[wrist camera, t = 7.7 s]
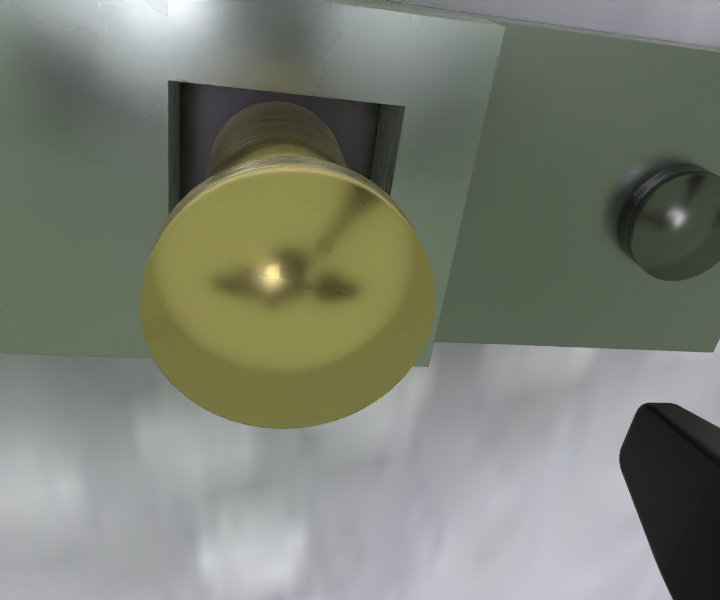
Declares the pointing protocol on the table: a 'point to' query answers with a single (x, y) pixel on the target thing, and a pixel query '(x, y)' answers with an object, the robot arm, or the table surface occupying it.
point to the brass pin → (285, 279)
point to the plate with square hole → (390, 162)
